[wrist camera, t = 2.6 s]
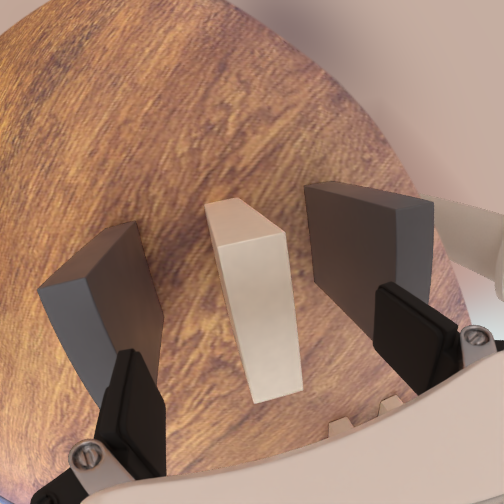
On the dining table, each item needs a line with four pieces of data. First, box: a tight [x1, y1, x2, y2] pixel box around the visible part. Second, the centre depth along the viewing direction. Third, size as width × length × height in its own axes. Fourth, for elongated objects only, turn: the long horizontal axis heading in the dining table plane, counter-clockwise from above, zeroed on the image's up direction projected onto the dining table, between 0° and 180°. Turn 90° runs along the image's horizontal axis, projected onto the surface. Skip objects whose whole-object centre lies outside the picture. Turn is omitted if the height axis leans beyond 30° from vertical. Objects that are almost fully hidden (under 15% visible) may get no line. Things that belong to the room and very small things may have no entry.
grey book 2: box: [37, 221, 164, 409], centre depth 16 cm, size 2×8×11 cm, turn 9°
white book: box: [204, 197, 303, 404], centre depth 17 cm, size 2×8×11 cm, turn 8°
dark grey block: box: [304, 181, 434, 341], centre depth 18 cm, size 2×8×11 cm, turn 8°
